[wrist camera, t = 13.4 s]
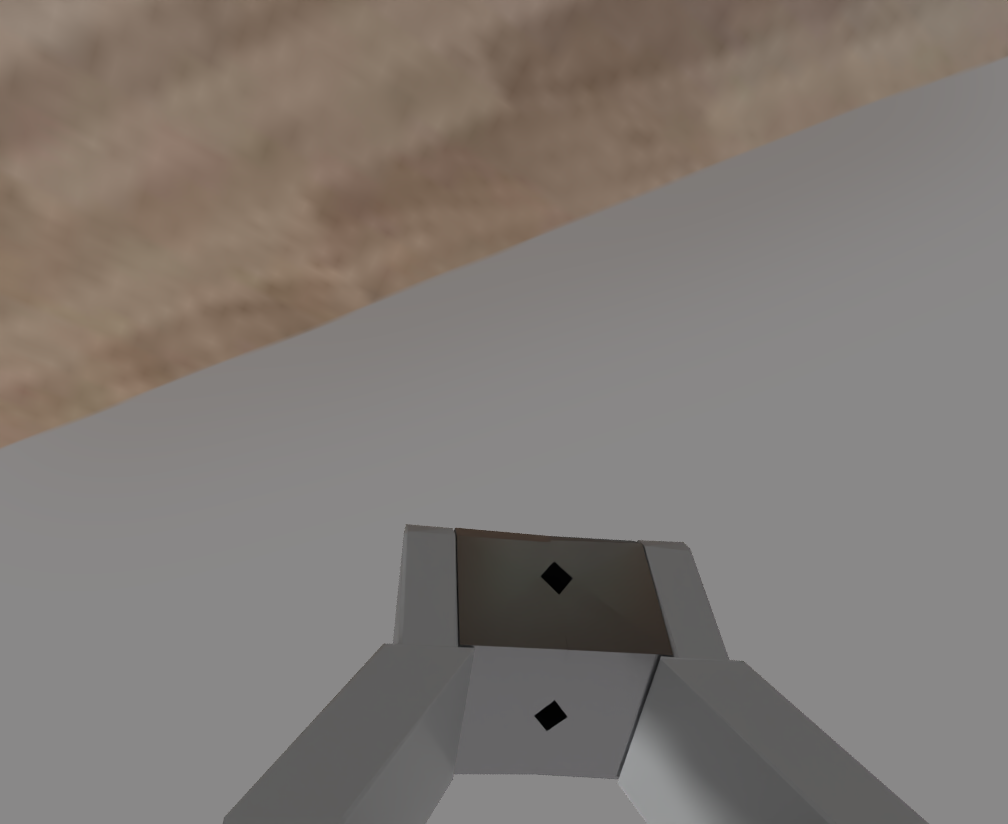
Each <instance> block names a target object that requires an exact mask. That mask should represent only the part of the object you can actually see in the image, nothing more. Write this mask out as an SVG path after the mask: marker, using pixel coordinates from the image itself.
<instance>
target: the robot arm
mask: <svg viewBox="0 0 1008 824" xmlns="http://www.w3.org/2000/svg"><path fill="white" fill-rule="evenodd" d="M454 774H538V775H556V776H573V777H591V778H607V779H619V780H618V785H619V786H620V788H621V789H622V790H623V792H624V793H625V794H626V796H627V797H628V798H629V800H630V801H631V803H632V804H633V805H634V807H635V808H636V809H637V811H638V812H639V813H640V815H641V816H642V817H643V819H644V820H645V821H646V823H647V824H929V823H927V822H926V821H925V820H924V819H923V818H922V817H921V816H919V815H918V814H917V813H916V812H915V811H914V810H913V809H911V808H910V807H909V806H908V805H907V804H906V803H905V802H903V801H902V800H901V799H900V798H899V797H898V796H896V795H895V794H894V793H893V792H892V791H891V790H890V789H888V787H886V786H885V785H884V784H883V783H882V782H881V781H879V780H878V779H877V778H876V777H875V776H874V775H873V774H872V773H870V772H869V771H868V770H867V769H866V768H865V767H863V766H862V765H861V764H860V763H859V762H858V761H857V760H856V759H854V758H853V757H852V756H851V755H850V754H849V753H848V752H846V751H845V750H844V749H843V748H842V747H841V746H840V745H839V744H837V743H836V742H835V741H834V740H833V739H832V738H831V737H829V736H828V735H827V734H826V733H825V732H824V731H822V730H821V729H820V728H819V727H818V726H817V725H816V724H815V723H813V722H812V721H811V720H810V719H809V718H808V717H806V716H805V715H804V714H803V713H802V712H801V711H800V710H799V709H797V708H796V707H795V706H794V705H793V704H792V703H790V701H788V700H787V699H786V698H785V697H784V696H782V695H781V694H780V693H779V692H778V691H777V690H775V688H774V687H772V686H771V685H770V684H769V683H768V682H767V681H766V680H764V679H763V678H762V677H761V676H760V675H759V674H758V673H756V672H755V671H754V670H753V669H752V668H751V667H750V666H748V665H747V664H746V663H745V662H744V661H735V660H734V661H733V660H729V657H728V655H727V652H726V649H725V646H724V643H723V640H722V638H721V635H720V632H719V629H718V626H717V624H716V621H715V618H714V615H713V612H712V609H711V606H710V604H709V601H708V598H707V595H706V592H705V590H704V587H703V584H702V581H701V578H700V575H699V573H698V570H697V567H696V564H695V561H694V558H693V556H692V553H691V550H690V548H689V547H688V546H686V544H684V542H664V541H643V540H642V541H641V540H638V541H637V542H635V541H625V540H609V539H592V538H575V537H557V536H543V535H531V534H520V533H509V532H498V531H486V530H475V529H463V528H455V530H454V531H453V529H452V528H443V527H430V526H419V525H408V524H406V527H405V531H404V538H403V548H402V558H401V567H400V578H399V586H398V596H397V605H396V616H395V627H394V637H393V644H383V645H382V646H381V647H380V648H379V649H378V651H377V652H376V653H375V654H374V655H373V656H372V657H371V658H370V659H369V660H368V661H367V662H366V664H365V665H364V666H363V667H362V668H361V669H360V670H359V671H358V672H357V673H356V675H355V676H354V677H353V678H352V679H351V680H350V681H349V682H348V683H347V684H346V685H345V686H344V688H343V689H342V690H341V691H340V692H339V693H338V694H337V695H336V696H335V697H334V698H333V700H332V701H331V702H330V703H329V704H328V705H327V706H326V707H325V708H324V709H323V710H322V712H321V713H320V714H319V715H318V716H317V717H316V718H315V719H314V720H313V721H312V722H311V723H310V725H309V726H308V727H307V728H306V729H305V730H304V731H303V732H302V733H301V734H300V736H299V737H298V738H297V739H296V740H295V741H294V742H293V743H292V744H291V745H290V746H289V747H288V749H287V750H286V751H285V752H284V753H283V754H282V755H281V756H280V757H279V759H277V761H276V762H275V763H274V764H273V765H272V766H271V767H270V768H269V769H268V770H267V771H266V772H265V774H264V775H263V776H262V777H261V778H260V779H259V780H258V781H257V782H256V784H254V786H253V787H252V788H251V789H250V790H249V791H248V792H247V793H246V794H245V796H243V798H242V799H241V800H240V801H239V802H238V803H237V804H236V805H235V806H234V807H233V809H232V810H231V811H230V812H229V813H228V814H227V815H226V816H225V817H224V821H223V824H425V823H426V822H427V820H428V819H429V817H430V816H431V814H432V812H433V811H434V809H435V807H436V806H437V804H438V803H439V801H440V799H441V798H442V796H443V794H444V793H445V791H446V789H447V788H448V786H449V785H450V783H451V781H452V780H453V775H454Z"/></svg>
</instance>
